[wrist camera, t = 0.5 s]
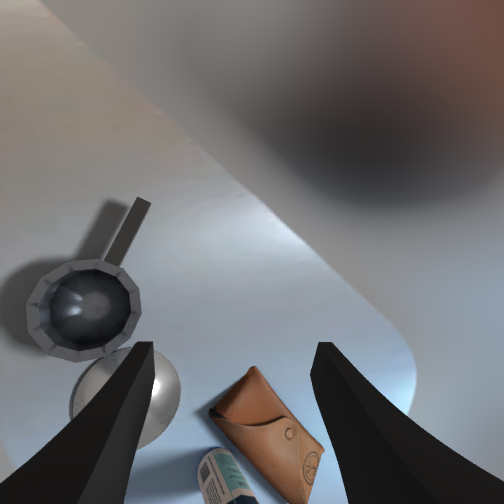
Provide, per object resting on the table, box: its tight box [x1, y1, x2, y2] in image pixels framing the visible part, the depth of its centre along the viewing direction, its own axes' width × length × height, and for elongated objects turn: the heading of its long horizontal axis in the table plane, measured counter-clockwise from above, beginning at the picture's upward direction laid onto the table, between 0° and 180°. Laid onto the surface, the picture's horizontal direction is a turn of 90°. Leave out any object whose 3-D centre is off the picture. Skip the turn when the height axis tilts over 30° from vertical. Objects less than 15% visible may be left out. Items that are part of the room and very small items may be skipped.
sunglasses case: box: [209, 366, 325, 504], centre depth 37 cm, size 18×7×7 cm, turn 42°
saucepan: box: [26, 197, 151, 363], centre depth 31 cm, size 18×10×4 cm, turn 158°
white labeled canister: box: [197, 448, 259, 504], centre depth 30 cm, size 5×5×12 cm
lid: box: [73, 347, 181, 450], centre depth 31 cm, size 11×11×4 cm
